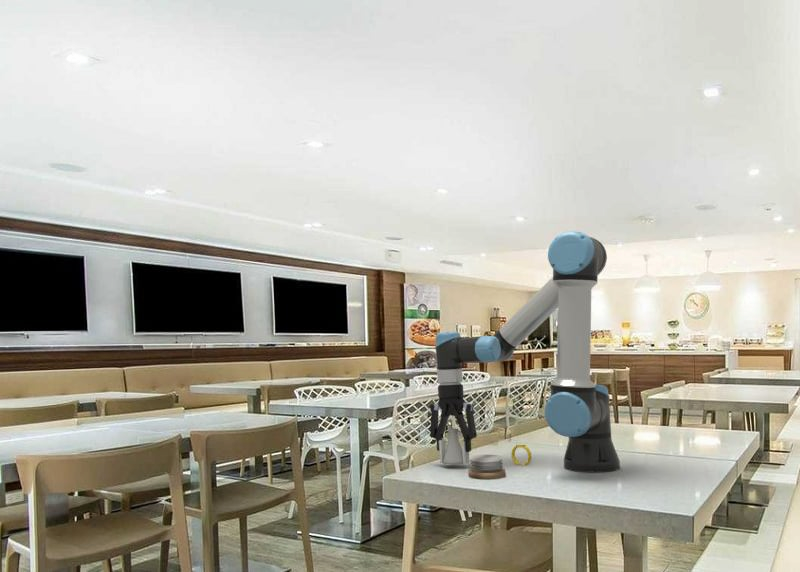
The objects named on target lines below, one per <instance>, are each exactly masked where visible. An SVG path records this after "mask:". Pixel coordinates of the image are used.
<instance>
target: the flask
mask: <svg viewBox="0 0 800 572" xmlns="http://www.w3.org/2000/svg"><path fill="white" fill-rule="evenodd" d="M446 430H447V432H448V442H447V444H446V453H445V456H444V460H443V463H442V464H443V465H450V466H454V465H455V466H456V465H464V464H463V454H462V445H461V444H460V441H459V435H458V431H459V428H448V429H446Z"/></svg>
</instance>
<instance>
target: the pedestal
mask: <svg viewBox="0 0 800 572" xmlns="http://www.w3.org/2000/svg"><path fill="white" fill-rule="evenodd" d="M469 461H470V468H469V469H468V472H467V476H468V477H469V478H471V479H474V480H498V479H503V478H505V477H507V476H506V475H507V473H506V471H507V470H506V469H505V468H504V466H503V458H502V456H500V455H497V454H476V455H473V456H471V458H469Z"/></svg>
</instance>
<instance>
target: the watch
mask: <svg viewBox="0 0 800 572" xmlns="http://www.w3.org/2000/svg"><path fill="white" fill-rule="evenodd" d="M518 448H523V449H524V450H525V451H526V452H527V460H526V462H523V463H522V462H519V461H518V460H517V458H516V450H517V449H518ZM511 459H512V461H513V463H514V464H515V465H517V464H518V465H519V466H521V465H522V466H528V465H529V464H530V463H531V461H532V453H531V451H530V448H529V447H528V446H527V445H526V444H525V443H517V444H516V445H515V446H514V447H513V448H512V451H511ZM527 464H528V465H527ZM518 465H517V466H518Z"/></svg>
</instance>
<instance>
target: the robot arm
mask: <svg viewBox="0 0 800 572" xmlns="http://www.w3.org/2000/svg"><path fill="white" fill-rule="evenodd" d="M547 249H548V250H547V260H548V263H549V265H550V266H551V268H552V277H551V278H550V279H549V280H548V281H547V282H546V283H545V284H544V285H543V286H542V287H541V288H540V289H539V290H538V291H537V292H536V293H535V294H534V295H532V297H531V298H530V299H528V300H527V302H526V303H525V304H523V306H521V308H519V309H518V310H517V311H516V312H515V313H514V315H512V316H510V317H511V318H509V319H508V320H507V321H506V322H505V323H504V324H503V325H502V326H501V327H500V328H499V329H498V330H497V331H496V332H495V333H494V334H493V335H490V336H489V335H482V336H471V337H461V333H460V332H459V331H443V332H438V333H437V334H436V335H435V348H434V349H435V356H436V357H435V358H436V376H437V384H439V385H438V386H437V395H438V402H437V403H433V404H432V403H431V404H429V409H430V412H431V413H430V431H429V432H430V435H429V437H430V438H432V439H435V440H436V450H437V452H439V463H440V464H443V460H444V456H445V453H446V449H447V443H446V441H447V440H446V439H445V437H444V435H445V433H446V428H447V424H448V420H449V418H450V417H451V416H452V417H454V419H455V420H456V421H457V424H458V427H459V429H460V432H461V435H462V437H463V439H462V440H461V449H462V454H463V464H462V465H467V464H469V463H470V464H471V461H470V452H472V440H473V439H476V438H477V435H478V434H477V429H476V422H475V415H474V407H475V404H474V403H468V402H465V399H464V385H463V384H462V383H463V364H473V363H474V364H477V363H478V364H479V363H480V364H481V363H484V364H488V363H495V362H504V361H508V360H509V359H511V358H512V356H513V355H514V352H515V349H516V348H517V347H518V346H519V345H521V344H522V342H524V341H525V340H526V339H527V338H528V337H529V336H530V335H531V334H532V333H533V332H534V331H535V330H536V329H538V328H539V327H540V326H541V324H543V323H544V321H546V320H547V319H548V318H550V316H551V315H552V314H553V313H554V312H555V311H557V343H556V345H557V348H556V349H557V350H556V351H557V352H556V353H557V354H556V376H555V377H556V378H554V379H553V380H552V381H551V382H550V397H549V398H548V399H547V401H546V403H545V406H544V417H545V420H546V422H547V423H546V424H547V425H548V426H549V427H550V428H551V430H552V431H553V432H555V433H556V434H558V435H559V436H562V437H565V438H568V442H567V445H566V450H565V453H564V456H563V457H564V458H563V468H564V469H567V470H571V471H575V472H582V473H584V472H586V473H604V472H605V473H606V472H615V471H618V470H619V469H620V468H621V464H620V463H621V462H620V459H619V456H618V453H617V450H616V448H615V445H614V442H613V440H612V427H611V424H612V423H611V410H610V407H611V406H610V395H609V389H608V387H607V386H606V385H603V384H595V383H594V382H593V380H592V379H591V339H592V338H591V337H592V336H591V335H592V334H591V333H592V332H591V331H592V328H591V327H592V290H593V288H594V287H595V286H596V285H597V284H598V278H599V277H598V276H599V275H600V274H601V273H602V271H603V270H604V269H605V267H606V264H607V258H608V256H607V251H606V248H605V246H604V245H603V243H602V242H600V241H599V239H596V238H595V237H591V236H589V235H588V234H586V233H584V232H581V231H575V230H571V231H565V232H562V233H560V234H559V235H557V236H556V237H555V238H554V239H553V240H552V241H551V243H550V245H549V246H548V248H547ZM463 409H464V410H465V415H464V413H463ZM439 410H441V413H440V412H439ZM439 413H440V416H439ZM464 416H465V417H466V418H465V417H464ZM439 417H440V420H439Z"/></svg>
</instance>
